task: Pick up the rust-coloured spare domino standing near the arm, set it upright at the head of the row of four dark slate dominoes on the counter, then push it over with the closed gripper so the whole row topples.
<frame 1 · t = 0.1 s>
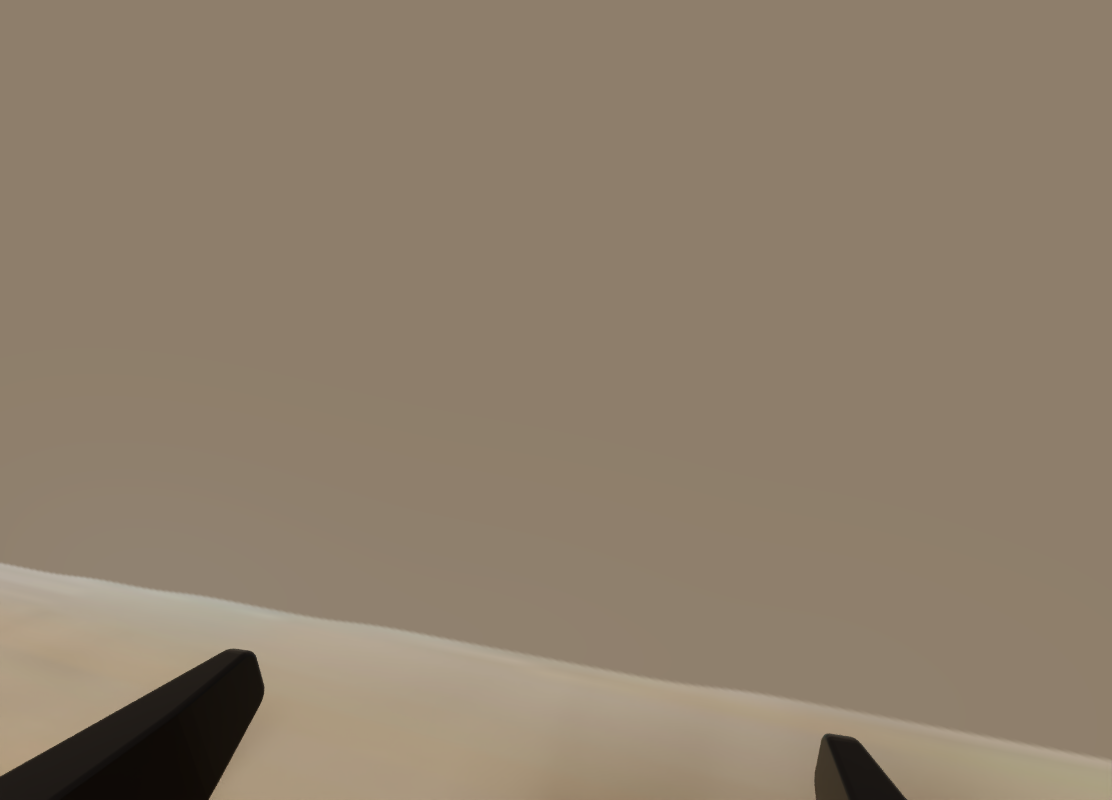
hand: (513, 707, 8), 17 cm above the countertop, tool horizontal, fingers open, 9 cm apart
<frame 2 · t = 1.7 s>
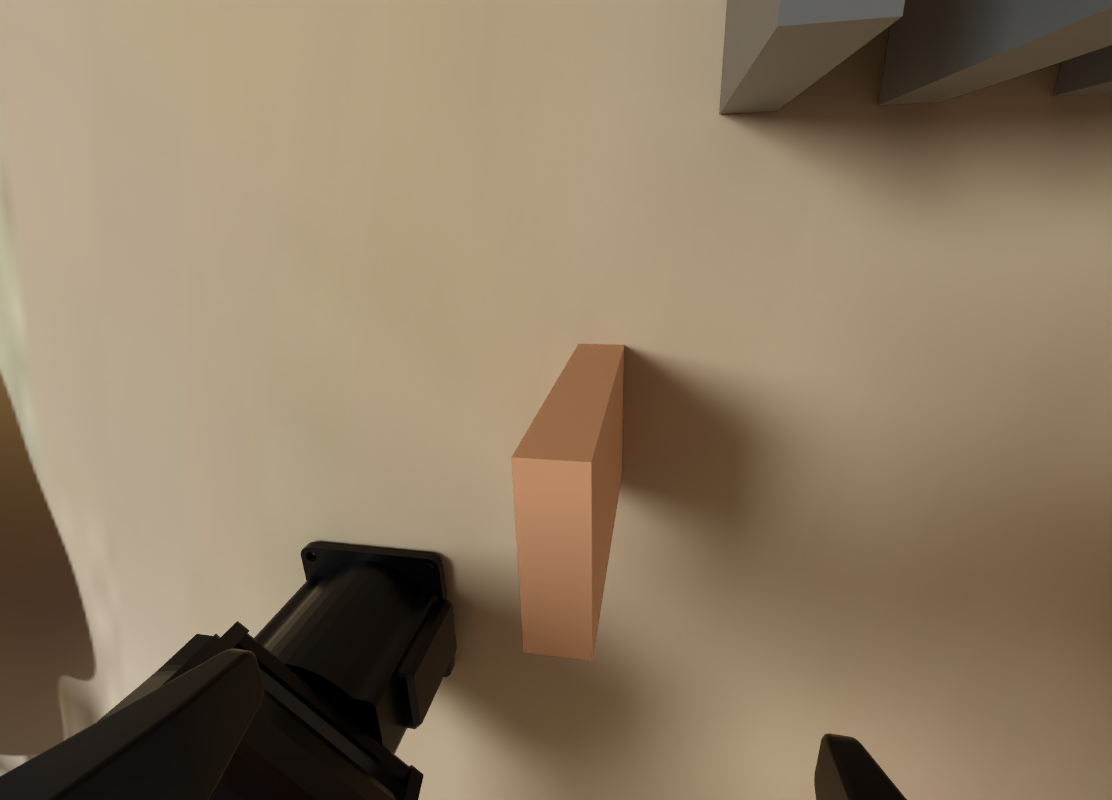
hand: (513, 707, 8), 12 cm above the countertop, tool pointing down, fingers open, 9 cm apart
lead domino: (600, 411, 20), on the countertop
domino 2: (756, 10, 15), on the countertop
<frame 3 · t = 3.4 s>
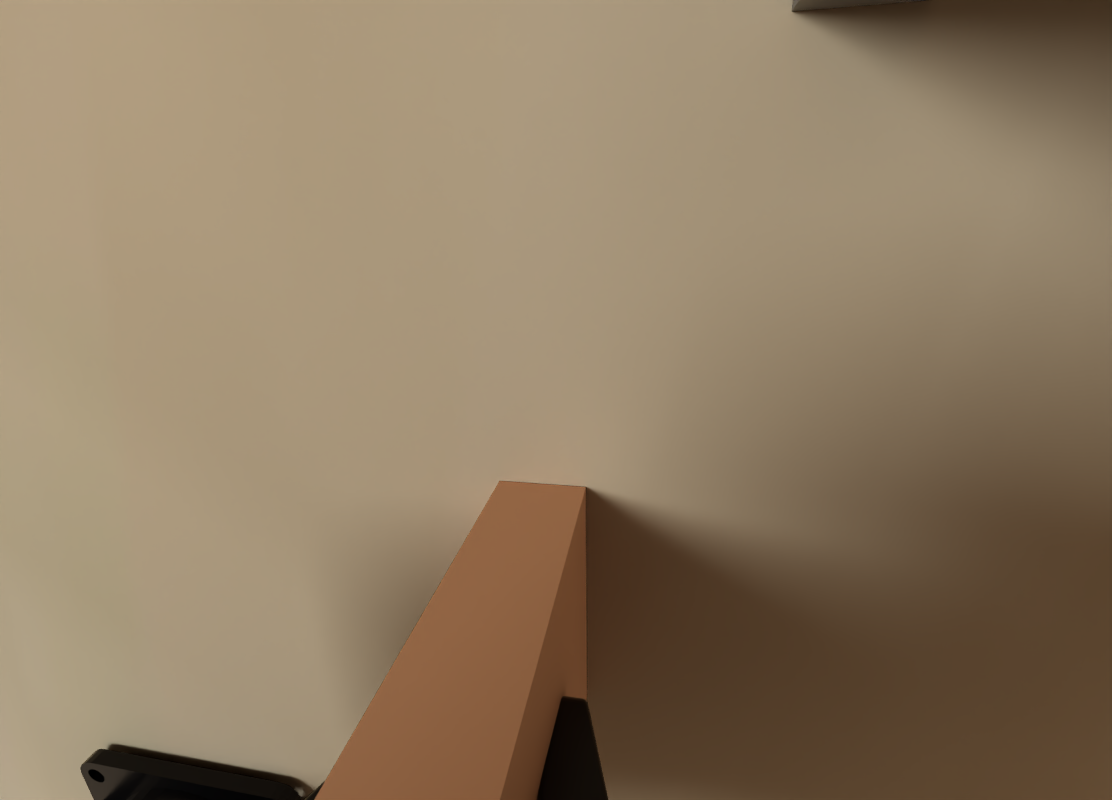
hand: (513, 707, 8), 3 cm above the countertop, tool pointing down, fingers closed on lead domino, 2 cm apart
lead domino: (546, 595, 11), on the countertop, touching gripper
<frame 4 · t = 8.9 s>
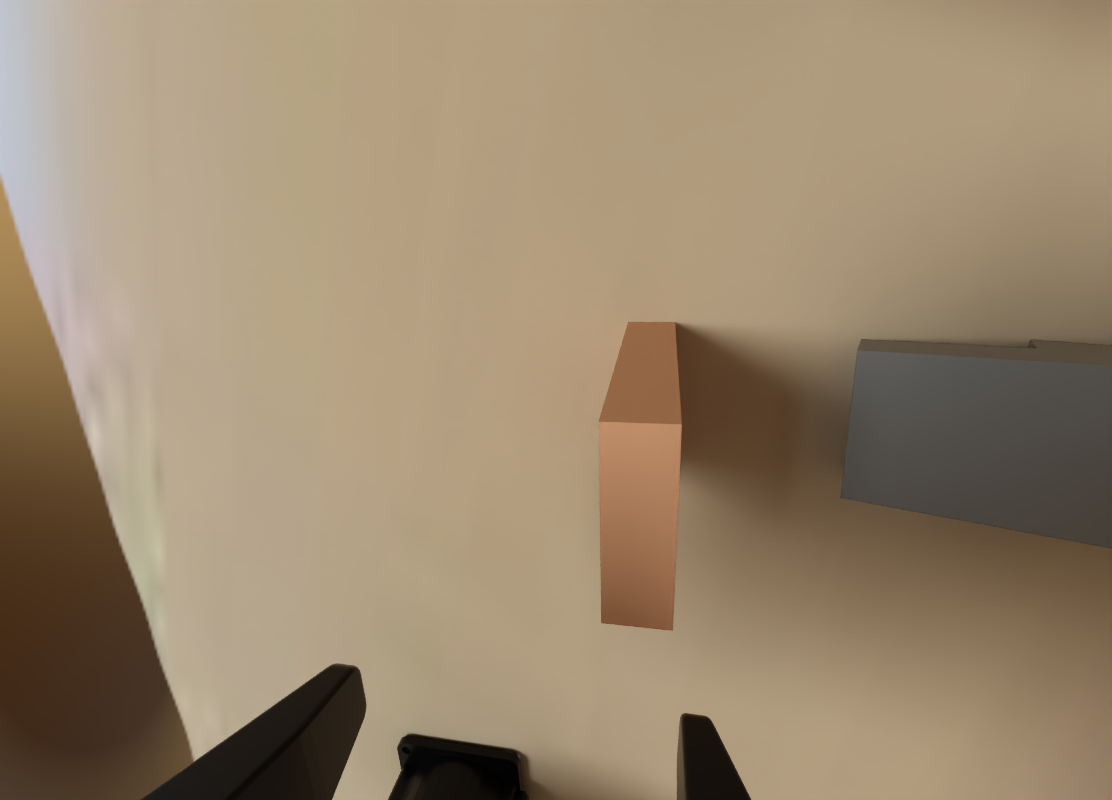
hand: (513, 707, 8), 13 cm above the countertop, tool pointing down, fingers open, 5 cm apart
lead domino: (649, 390, 20), on the countertop
domino 2: (851, 419, 18), point 1 cm above the countertop, tilted 69°, touching domino 3
domino 3: (1014, 423, 17), point 1 cm above the countertop, tilted 69°, touching domino 2, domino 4
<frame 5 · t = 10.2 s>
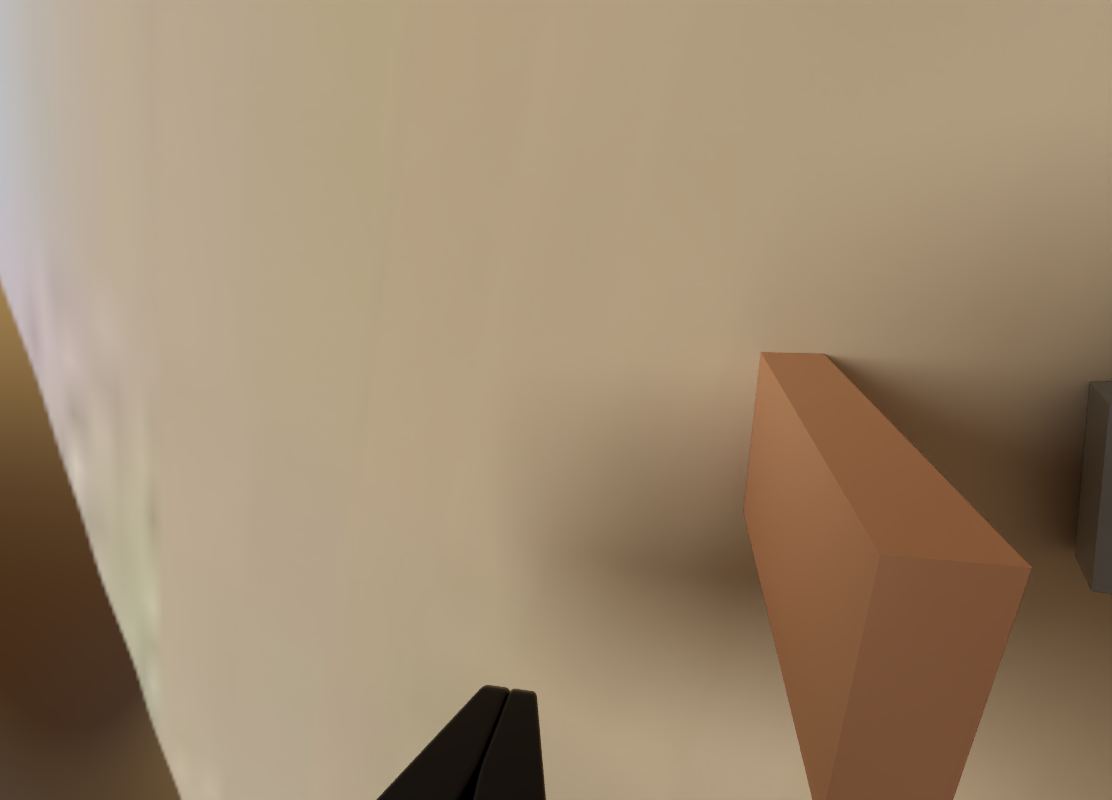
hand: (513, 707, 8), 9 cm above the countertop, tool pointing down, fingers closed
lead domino: (781, 437, 16), on the countertop
domino 2: (1090, 487, 14), point 1 cm above the countertop, tilted 71°, touching domino 3
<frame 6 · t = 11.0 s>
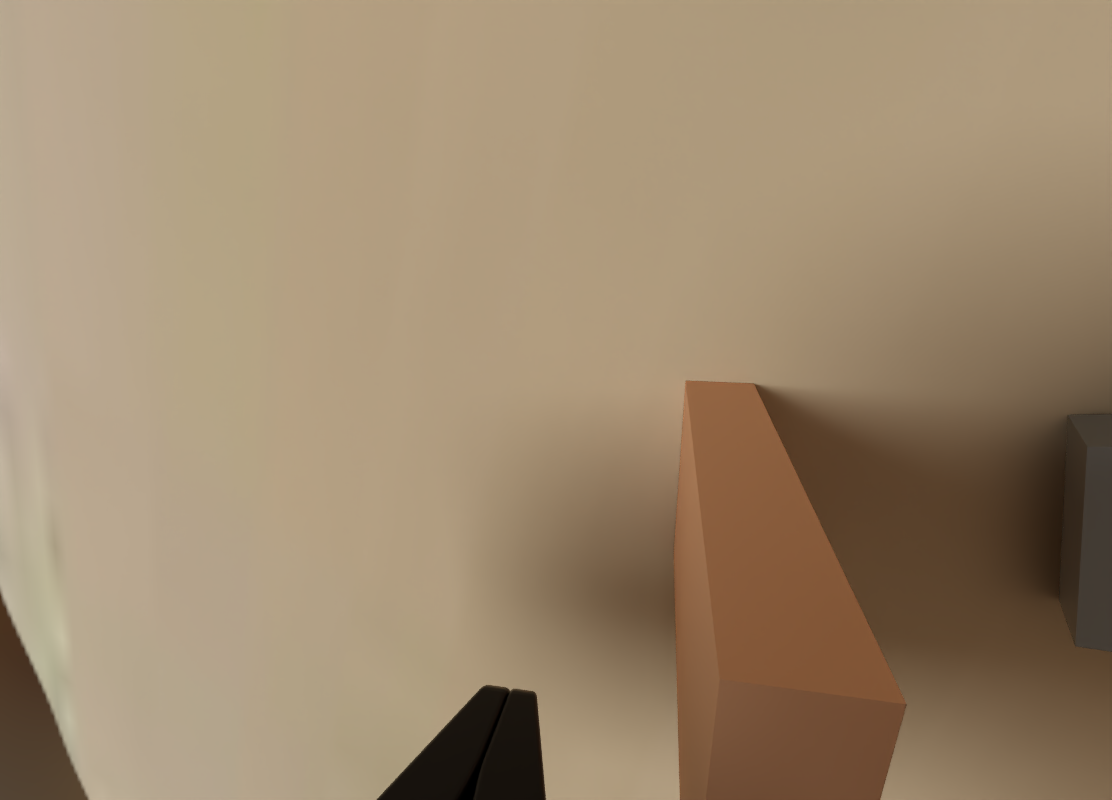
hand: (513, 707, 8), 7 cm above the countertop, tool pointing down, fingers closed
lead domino: (710, 473, 14), on the countertop
domino 2: (1071, 531, 12), point 1 cm above the countertop, tilted 71°, touching domino 3
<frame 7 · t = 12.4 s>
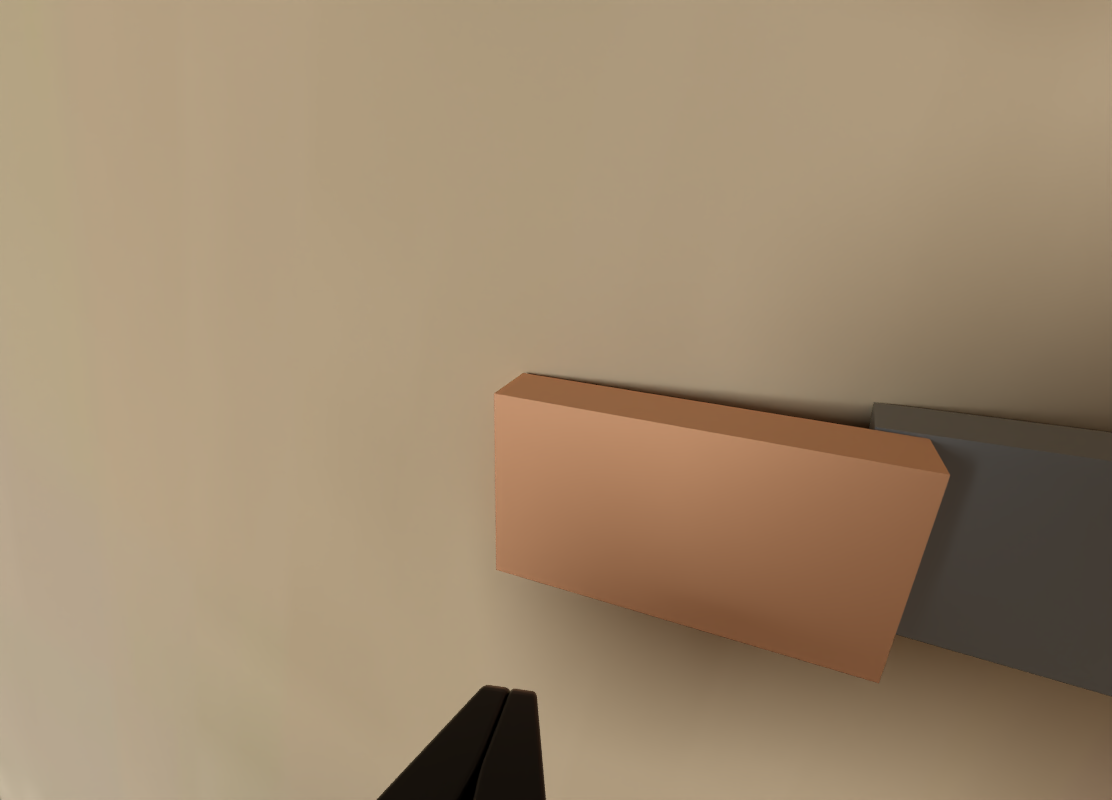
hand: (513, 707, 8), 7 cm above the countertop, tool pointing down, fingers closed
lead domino: (509, 472, 14), point 1 cm above the countertop, tilted 79°, touching domino 2
domino 2: (855, 511, 13), point 1 cm above the countertop, tilted 73°, touching domino 3, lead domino
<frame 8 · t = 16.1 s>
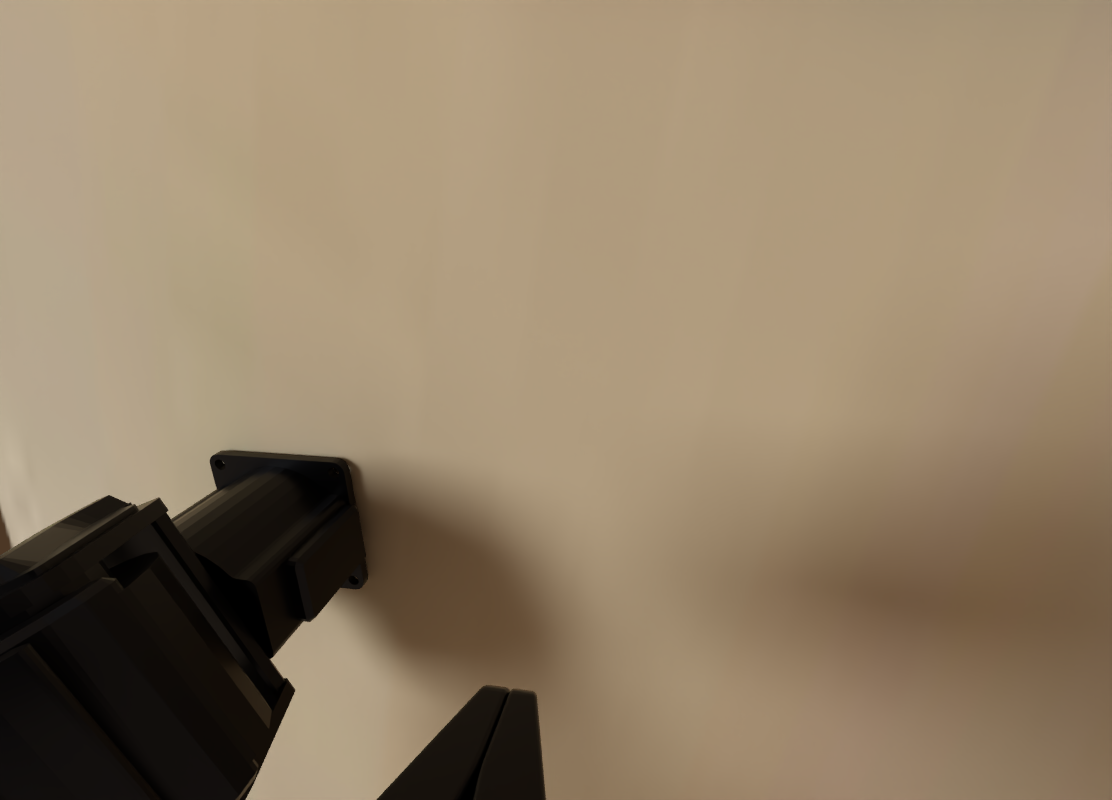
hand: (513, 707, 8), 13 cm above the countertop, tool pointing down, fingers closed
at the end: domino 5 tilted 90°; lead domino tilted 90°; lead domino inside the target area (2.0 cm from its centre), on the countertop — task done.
